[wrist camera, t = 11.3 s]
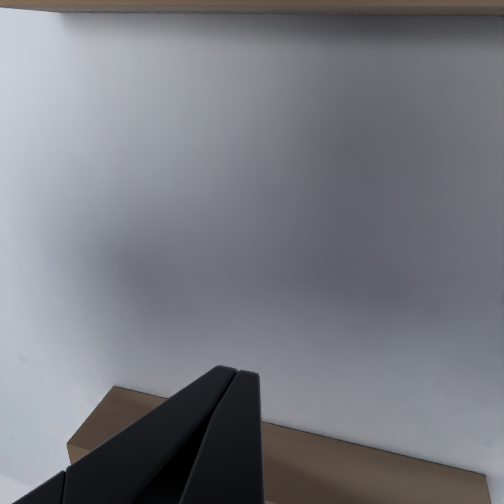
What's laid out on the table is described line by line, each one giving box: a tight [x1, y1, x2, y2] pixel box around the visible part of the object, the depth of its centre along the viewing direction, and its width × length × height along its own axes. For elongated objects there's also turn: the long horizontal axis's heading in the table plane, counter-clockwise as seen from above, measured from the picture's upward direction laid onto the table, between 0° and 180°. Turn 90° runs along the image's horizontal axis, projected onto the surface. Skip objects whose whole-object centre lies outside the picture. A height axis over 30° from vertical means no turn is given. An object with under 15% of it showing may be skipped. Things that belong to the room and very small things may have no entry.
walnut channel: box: [0, 0, 504, 504], centre depth 12 cm, size 16×14×3 cm
